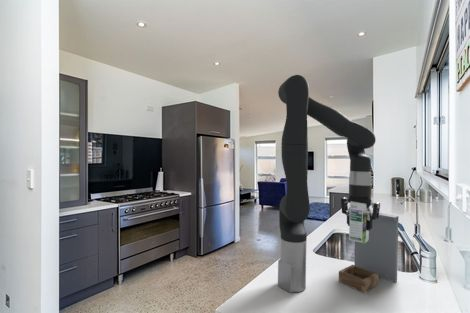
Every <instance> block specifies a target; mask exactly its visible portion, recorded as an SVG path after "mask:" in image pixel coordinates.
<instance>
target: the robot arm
mask: <svg viewBox="0 0 470 313" xmlns="http://www.w3.org/2000/svg"><path fill="white" fill-rule="evenodd" d="M277 92H278V93H277V95H278V98H279V99H280V100H279V101H281V102H282V103H283V104H285V106H286V116H285V117H286V118H285V121H284V123H285V124H284V126H283V130H282V134H281V135H282V136H281V143H280V144H281V163H282V167H283V172H284V176H285V180H286V193H285V195H284V196H283V197H282V198H281V200H280V202H279V212H278V216H279V219H278V220H279V232H280V245H279V246H280V248H279V249H280V251H279V253H280V254H279V257H280V258H279V259H278V262H277V263H278V264H277V286H278V287H279V288H281V289H283V290H284V291H286V292H288V293H290V294H292V293H299V292H303V291H305V290H306V286H307V284H306V282H307V281H306V280H307V279H306V278H307V241H308V240H307V237H308V236H307V230H306V228H305V227H306V226H305V221H306V220H307V218H308V217H309V215H310V211H311V204H310V198H309V187H308V172H309V171H308V168H309V167H308V162H309V159H308V158H309V157H308V156H309V145H308V144H309V143H308V117H310V118H312V119H314V120H315V121H316V122H318V123H320V124H321V125H323V126H324V127H326V129H328V130H330V131H331V132H333V133H334V134H335V135H336V136H339V137H343V138H347V139H346V147H347V153H348V156H349V160H350V161H349V176H348V177H349V178H348V197H342V198H341V199H340V205H341V206H340V207H341V214H344V215H345V216H346V224H347V226H349V224H350V206H348V204H350V202H351V201H352V202H359V203H366V206H367V209H368V211H366V218H367V220H366V230H368V231H369V230H371V229H372V225H373V220H375V219H378V218H379V213H380V209H381V203H380V202H376V201H375V202H374V201H373V200H372V184H373V182H372V171H371V170H372V160H371V157H370V156H368V155H367V154H366V151H365V150H366V149H370V148H372V147H373V146H374V145H375V144H376V136H375V134H374V132H373V131H372V130H371V129H369V128H368V127H366V126H364V125H362V124H360V123H358V122H355V121H352V120H351V119H350V118H348V116H346V115H344V114H343V113H341V112H340V111H339V110H337V109H335V108H333V107H332V106H328V105H325V104H323V103H320V102H319V101H317V100H315V99H314V98H312V97H310V84H309V82H308V80H307V79H306V77H304V76H303V75H300V74H294V75H292V76H289V77H288V78H287V79H285V80H284V82H283V83H281V85H280V86H279V88H278V91H277ZM370 206H371V208H372V210H371V209H370ZM371 211H372V212H373V213H372V214H371Z"/></svg>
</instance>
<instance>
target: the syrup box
mask: <svg viewBox="0 0 470 313" xmlns="http://www.w3.org/2000/svg"><path fill="white" fill-rule="evenodd" d="M349 207H350V224H349V228H348V230H349V232H348V240H349V241H350V242H351V241H352V242H355V241H356V242H360V243H366V242H367V241H368V240H369V231H368V230H366V220H367V218H366V211H368V209H367V206H366V203H359V202H352V201H351V202H350V203H349Z"/></svg>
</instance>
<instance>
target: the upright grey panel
mask: <svg viewBox="0 0 470 313" xmlns="http://www.w3.org/2000/svg"><path fill="white" fill-rule="evenodd" d="M372 213H373V210H371V214H372ZM398 247H399V216H398V215H394V214H388V213H383V212H379V218H378V219H375V220H373V225H372V229H371V230H369V240H368V241H367V242H366V243H360V242H356V241H354V264H353V265H355V266H358V267H360V268H363V269H366V270H369V271H371V272H374V273H377V274H379V278H382V279H385V280H386V281H387V280H388V281H391V282H393V283H397V282H398V263H399V262H398V260H399V259H398V256H399V253H398V251H399V248H398Z"/></svg>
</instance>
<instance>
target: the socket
mask: <svg viewBox="0 0 470 313" xmlns="http://www.w3.org/2000/svg"><path fill="white" fill-rule="evenodd" d="M379 278H380V277H379V274H377V273H374V272H371V271H369V270H366V269H363V268H360V267H358V266H355V265H354V264H351V265H349V266H346V267H345V268H342V269H340V270H338V282H339V283H341V284H343V285H345V286H348V287H350V288H352V289H355V290H357V291H360V292H362V293H364V294H367V292H369V291H371V290H372V289H374V288H375V287H378V286H379Z"/></svg>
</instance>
